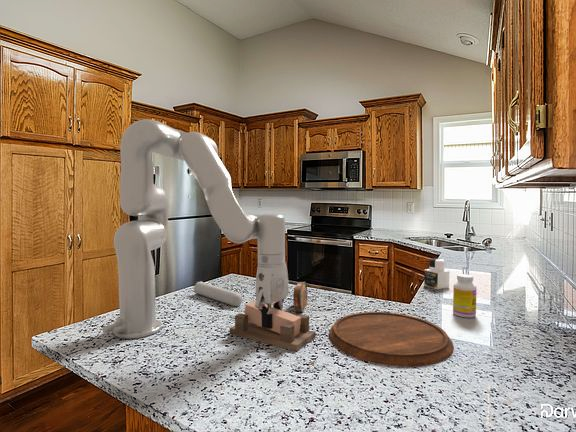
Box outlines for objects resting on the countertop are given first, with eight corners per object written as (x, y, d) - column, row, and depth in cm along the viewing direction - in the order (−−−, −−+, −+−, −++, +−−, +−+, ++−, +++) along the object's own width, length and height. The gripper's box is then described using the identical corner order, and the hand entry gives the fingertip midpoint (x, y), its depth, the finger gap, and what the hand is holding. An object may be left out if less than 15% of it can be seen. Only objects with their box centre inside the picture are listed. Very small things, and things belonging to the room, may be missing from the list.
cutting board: (310, 326, 102) (310, 318, 102) (398, 313, 114) (398, 306, 114) (372, 379, 73) (372, 367, 72) (483, 354, 84) (483, 344, 84)
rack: (297, 351, 85) (297, 329, 85) (229, 333, 97) (229, 314, 96) (315, 337, 94) (315, 317, 93) (251, 322, 105) (251, 304, 105)
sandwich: (301, 315, 111) (301, 289, 111) (292, 314, 112) (292, 289, 111) (308, 301, 126) (308, 279, 126) (299, 301, 127) (299, 278, 126)
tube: (247, 294, 123) (206, 282, 140) (236, 292, 119) (195, 280, 136) (243, 309, 122) (203, 295, 139) (232, 307, 118) (192, 293, 135)
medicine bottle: (423, 285, 148) (424, 258, 148) (435, 283, 151) (436, 257, 151) (437, 289, 142) (437, 260, 141) (449, 287, 145) (450, 259, 144)
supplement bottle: (475, 319, 106) (475, 278, 106) (451, 316, 110) (452, 276, 109) (476, 313, 112) (477, 274, 111) (454, 310, 116) (455, 272, 115)
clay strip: (291, 338, 89) (293, 321, 89) (244, 319, 97) (245, 304, 97) (299, 333, 93) (301, 317, 92) (252, 315, 101) (253, 300, 100)
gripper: (264, 265, 85) (265, 338, 86) (298, 256, 99) (298, 318, 100) (241, 262, 89) (242, 332, 90) (276, 253, 103) (277, 313, 104)
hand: (271, 324), depth 95 cm, fingers closed on clay strip, 4 cm apart
